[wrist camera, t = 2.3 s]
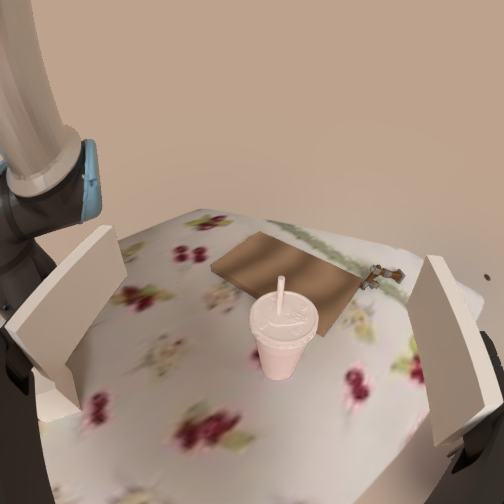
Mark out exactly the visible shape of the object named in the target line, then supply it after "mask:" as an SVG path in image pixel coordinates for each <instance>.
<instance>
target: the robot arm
mask: <svg viewBox="0 0 504 504" xmlns="http://www.w3.org/2000/svg"><path fill="white" fill-rule="evenodd" d="M0 154H1V156H2V157H3V159H4V160H2V161H0V314H1V315H2V317H3V318H4V319H5V320H7V321H6V322H5V324H4V325H3V326H2V327H1V328H0V504H55V501H54V497H53V494H52V490H51V487H50V483H49V479H48V475H47V471H46V466H45V461H44V456H43V451H42V446H41V439H40V433H39V426H38V417H37V407H36V395H35V377H34V373H33V372H32V371H31V370H32V368H33V367H35V368H36V369H37V371H38V372H39V373H40V374H41V375H42V376H43V377H45V378H47V379H49V380H51V381H52V382H54V381H55V379H56V378H57V376H58V374H59V373H60V371H61V370H62V368H63V366H64V365H65V363H66V362H67V360H68V358H69V357H70V355H71V354H72V352H73V351H74V349H75V348H76V346H77V345H78V343H79V342H80V340H81V339H82V337H83V336H84V334H85V333H86V331H87V330H88V328H89V327H90V325H91V324H92V323H93V321H94V320H95V318H96V317H97V315H98V314H99V313H100V311H101V310H102V308H103V307H104V306H105V304H106V303H107V302H108V300H109V299H110V297H111V296H112V295H113V293H114V292H115V291H116V289H117V288H118V287H119V285H120V284H121V283H122V281H123V280H124V279H125V277H126V276H127V272H126V269H125V265H124V262H123V259H122V255H121V252H120V248H119V244H118V241H117V237H116V233H115V229H114V226H111V225H100V226H99V227H98V228H97V229H96V230H95V231H94V232H93V233H91V234H90V236H88V237H87V238H86V239H85V240H84V241H83V242H82V243H81V244H80V245H79V246H78V247H76V249H74V250H73V251H72V252H71V253H70V254H69V255H68V256H67V257H66V258H65V259H64V260H63V261H62V262H61V263H60V264H59V265H58V266H57V265H56V264H55V262H54V261H53V259H51V257H50V256H49V255H48V254H47V253H46V252H45V251H44V250H43V249H42V248H41V247H40V246H39V245H38V244H37V243H36V241H35V239H34V238H35V237H38V236H41V235H43V234H46V233H49V232H52V231H56V230H59V229H62V228H66V227H69V226H73V225H76V224H82V223H83V222H84V221H87V220H90V219H93V218H95V217H97V216H98V215H99V214H100V213H101V210H102V196H101V186H100V176H99V167H98V158H97V149H96V143H95V141H94V140H92V139H88V140H87V139H85V140H83V141H82V142H81V139H80V136H79V134H78V132H77V131H76V130H75V129H74V128H72V127H70V126H68V125H63V123H62V121H61V118H60V115H59V112H58V109H57V106H56V103H55V100H54V97H53V94H52V91H51V87H50V84H49V81H48V78H47V74H46V71H45V67H44V63H43V59H42V56H41V51H40V47H39V43H38V38H37V33H36V29H35V23H34V18H33V12H32V6H31V0H0ZM406 308H407V311H408V315H409V318H410V322H411V325H412V329H413V333H414V337H415V341H416V344H417V349H418V353H419V357H420V361H421V366H422V370H423V375H424V380H425V385H426V391H427V396H428V402H429V408H430V415H431V421H432V429H433V438H434V447H436V446H442V445H447V444H452V443H454V442H455V441H456V440H458V439H459V438H461V437H462V436H463V440H464V443H463V444H461V445H460V446H458V447H457V448H455V449H454V450H452V451H451V452H450V453H449V454H448V455H447V457H450V456H452V455H453V454H455V453H456V454H455V456H454V458H452V461H451V463H450V465H449V466H448V468H447V470H446V471H445V473H444V475H443V476H442V478H441V480H440V481H439V483H438V484H437V486H436V487H435V489H434V490H433V492H432V493H431V495H430V496H429V498H428V499H427V500H426V502H425V503H424V504H504V370H503V367H502V366H501V362H500V359H499V357H498V356H497V351H496V349H495V346H494V344H493V342H492V340H491V339H490V338H489V336H488V335H487V334H486V333H485V332H484V331H479V330H478V327H477V325H476V323H475V320H474V318H473V316H472V314H471V312H470V309H469V307H468V305H467V303H466V301H465V299H464V297H463V295H462V293H461V291H460V289H459V287H458V285H457V283H456V281H455V279H454V278H453V276H452V274H451V272H450V270H449V268H448V267H447V265H446V263H445V261H444V259H443V258H442V256H432V255H426V258H425V260H424V263H423V266H422V268H421V271H420V273H419V276H418V279H417V281H416V284H415V286H414V288H413V291H412V293H411V296H410V298H409V300H408V302H407V305H406Z"/></svg>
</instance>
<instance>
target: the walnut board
mask: <svg viewBox="0 0 504 504" xmlns="http://www.w3.org/2000/svg"><path fill="white" fill-rule="evenodd" d="M211 271H212V272H214V273H215V274H217V275H219V276H220V277H222V278H224V279H225V280H227V281H228V282H230V283H232V284H233V285H235V286H237V287H238V288H240V289H242V290H243V291H245V292H247V293H248V294H250V295H252V296H253V297H255V298H257V299H259V298H260V297H261V296H263V295H265V294H268V293H271V292H275V291H277V288H278V277H279V276H284V277H285V285H284V291H291V292H295V293H298V294H300V295H303V296H304V297H306V298H307V299H309V300H310V301H311V302H312V303H313V304H314V306H315V307H316V309H317V312H318V316H319V320H318V328H317V331H316V333H317V334H319V335H321V336H323V337H324V335H325V334H326V333H327V331H328V330H329V329H330V328H331V326H332V325H333V323H334V322H335V321H336V319H337V318H338V317H339V315H340V314H341V313H342V311H343V310H344V308H345V307H346V306H347V304H348V303H349V301H350V300H351V299H352V297H353V296H354V294H355V293H356V291H357V290H358V288H359V287H360V285H361V283H362V280H363V279H361V278H359V277H357V276H355V275H353V274H351V273H349V272H347V271H345V270H343V269H340V268H338V267H336V266H334V265H332V264H330V263H328V262H325V261H323V260H321V259H319V258H317V257H315V256H313V255H310V254H308V253H306V252H304V251H302V250H300V249H297V248H295V247H293V246H291V245H289V244H286V243H284V242H282V241H280V240H278V239H275V238H273V237H271V236H269V235H267V234H264V233H262V232H260V231H259V232H258V233H256V234H255V235H254V236H252V237H251V238H249V239H248V240H246V241H245V242H243V243H242V244H240V245H239V246H238V247H236V248H235V249H233V250H232V251H230V252H229V253H227V254H226V255H225V256H223V257H222V258H220V259H219V260H217V261H216V262H214V263H213V264H212V265H211Z"/></svg>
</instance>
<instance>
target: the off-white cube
mask: <svg viewBox="0 0 504 504" xmlns="http://www.w3.org/2000/svg"><path fill="white" fill-rule="evenodd" d="M31 371H32V372H33V373H34V377H35V395H36V407H37V417H38V418H39V419H40V420H42V421H43V422H44V423H46V422H49V421H52V420H56V419H59V418H62V417H65V416H68V415H71V414H74V413H77V412H80V411H81V408H80V404H79V400H78V396H77V392H76V388H75V384H74V379H73V375H72V372H71V371H70V370H69V368H68V367H67V366H66V365H64V366H63V368H62V370H61V371H60V373H59V374H58V376H57V378H56V379H55V381H54V382H52V381H51V380H49V379H47V378H45V377H43V376H42V375H41V374H40V373H39V372H38V371H37V369H36V368H35V367H33V368H32V370H31Z"/></svg>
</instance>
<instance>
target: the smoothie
mask: <svg viewBox="0 0 504 504" xmlns="http://www.w3.org/2000/svg"><path fill="white" fill-rule="evenodd" d="M284 285H285V277H284V276H279V277H278V288H277V291H275V292H271V293H268V294H265V295H263V296H261V297H260V298H259V299H257V300H256V301H255V303H254V304H253V306H252V307H251V310H250V318H249V326H250V329H251V331H252V333H253V335H254V336H255V339H256V343H257V348H258V352H259V357H260V361H261V366H262V370H263V373H264V374H265V375H266V376H267V377H268V378H270V379H272V380H277V381H279V380H284V379H286V378H288V377H289V376H290V375H291V374H292V372H293V371H294V369H295V367H296V365H297V363H298V361H299V359H300V357H301V355H302V353H303V351H304V349H305V347H306V345H307V343H308V342H309V341H310V340H311V339H312V338H313V337H314V335H315V333H316V331H317V328H318V320H319V316H318V312H317V309H316V307H315V306H314V304H313V303H312V302H311V301H310V300H309V299H307V298H306V297H304V296H303V295H300V294H298V293H295V292H291V291H284Z"/></svg>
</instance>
